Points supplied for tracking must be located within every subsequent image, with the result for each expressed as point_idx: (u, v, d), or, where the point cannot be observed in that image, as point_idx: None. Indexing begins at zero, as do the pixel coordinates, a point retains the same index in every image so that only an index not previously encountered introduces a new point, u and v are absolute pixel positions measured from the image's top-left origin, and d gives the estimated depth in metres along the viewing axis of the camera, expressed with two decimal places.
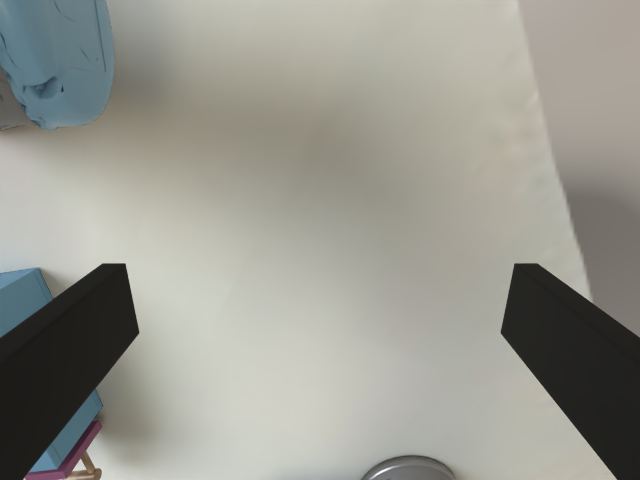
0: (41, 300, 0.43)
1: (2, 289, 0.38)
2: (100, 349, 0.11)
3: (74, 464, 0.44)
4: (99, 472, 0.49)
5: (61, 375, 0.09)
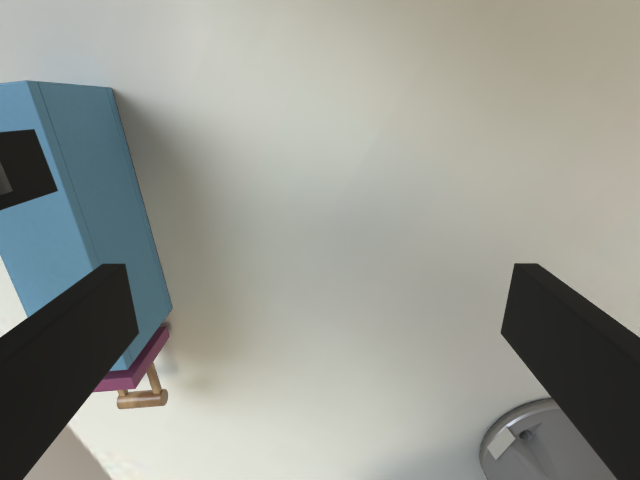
0: (114, 133, 0.30)
1: (72, 85, 0.25)
2: (100, 349, 0.11)
3: (143, 373, 0.32)
4: (166, 394, 0.36)
5: (61, 375, 0.09)
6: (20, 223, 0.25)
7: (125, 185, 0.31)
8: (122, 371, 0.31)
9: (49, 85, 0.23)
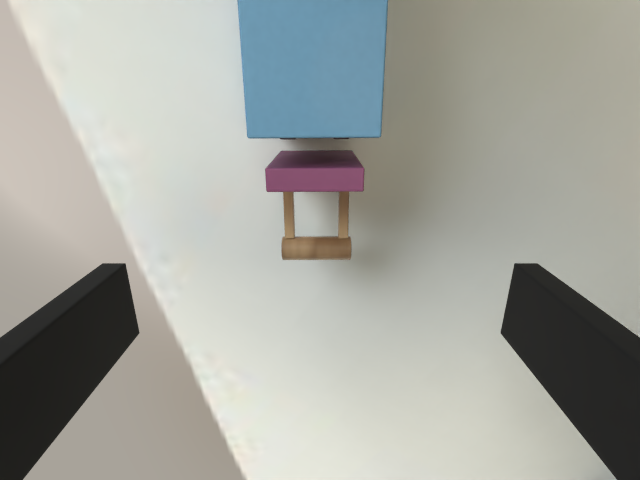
0: None
1: None
2: (100, 349, 0.11)
3: None
4: None
5: (61, 375, 0.09)
6: None
7: None
8: (338, 165, 0.19)
9: None
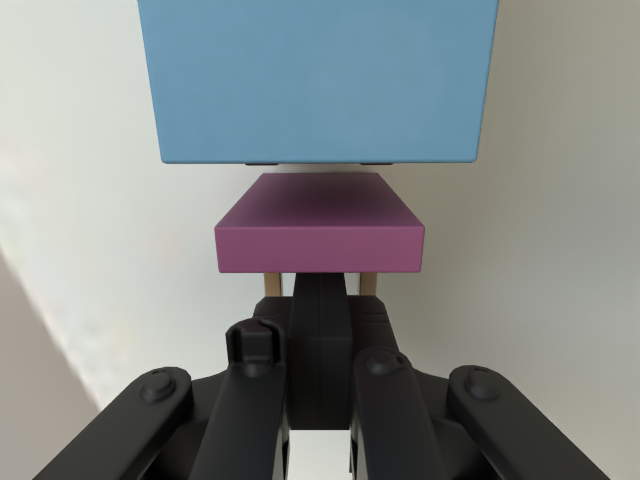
0: None
1: None
2: None
3: None
4: None
5: None
6: None
7: None
8: (367, 215, 0.09)
9: None
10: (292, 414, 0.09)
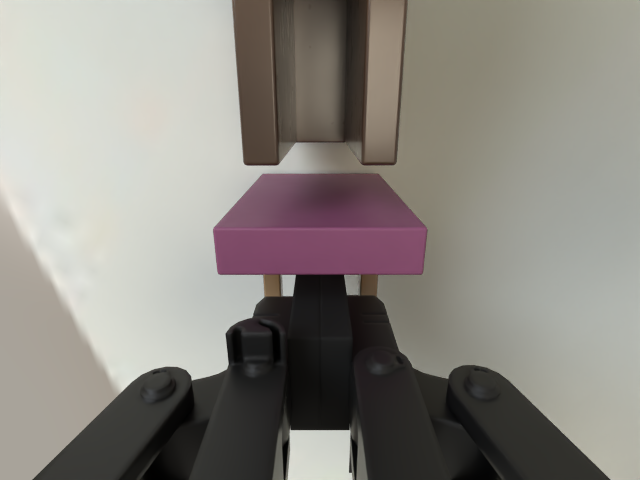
0: None
1: None
2: None
3: None
4: None
5: None
6: None
7: None
8: (369, 216, 0.09)
9: None
10: (292, 414, 0.09)
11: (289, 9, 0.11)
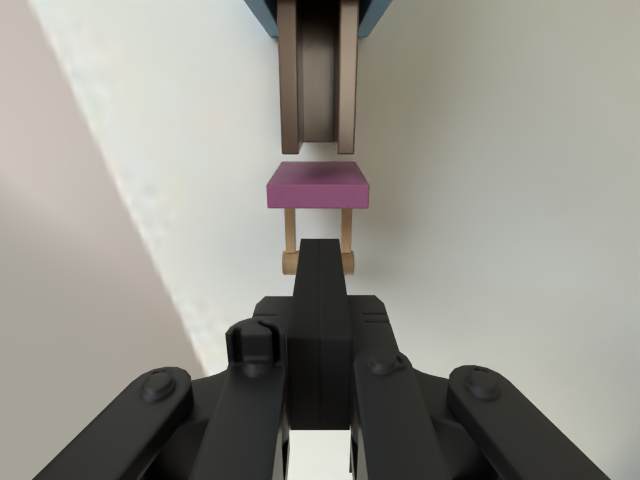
0: None
1: None
2: None
3: None
4: None
5: None
6: None
7: None
8: (342, 180, 0.18)
9: None
10: (292, 414, 0.09)
11: (301, 70, 0.20)
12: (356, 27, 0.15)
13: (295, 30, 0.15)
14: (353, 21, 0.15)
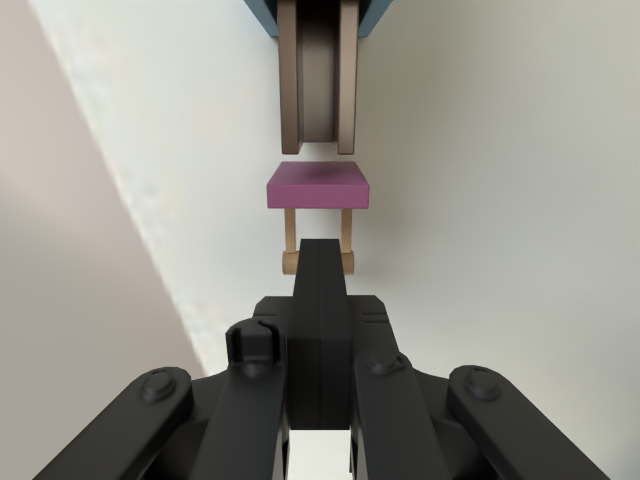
0: None
1: None
2: None
3: None
4: None
5: None
6: None
7: None
8: (342, 180, 0.18)
9: None
10: (292, 414, 0.09)
11: (301, 70, 0.20)
12: (356, 27, 0.15)
13: (295, 30, 0.15)
14: (353, 21, 0.15)
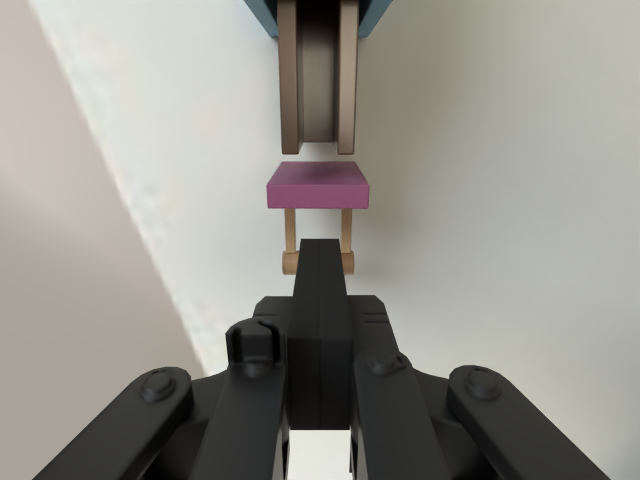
0: None
1: None
2: None
3: None
4: None
5: None
6: None
7: None
8: (342, 180, 0.18)
9: None
10: (292, 414, 0.09)
11: (301, 70, 0.20)
12: (356, 27, 0.15)
13: (295, 30, 0.15)
14: (353, 21, 0.15)
